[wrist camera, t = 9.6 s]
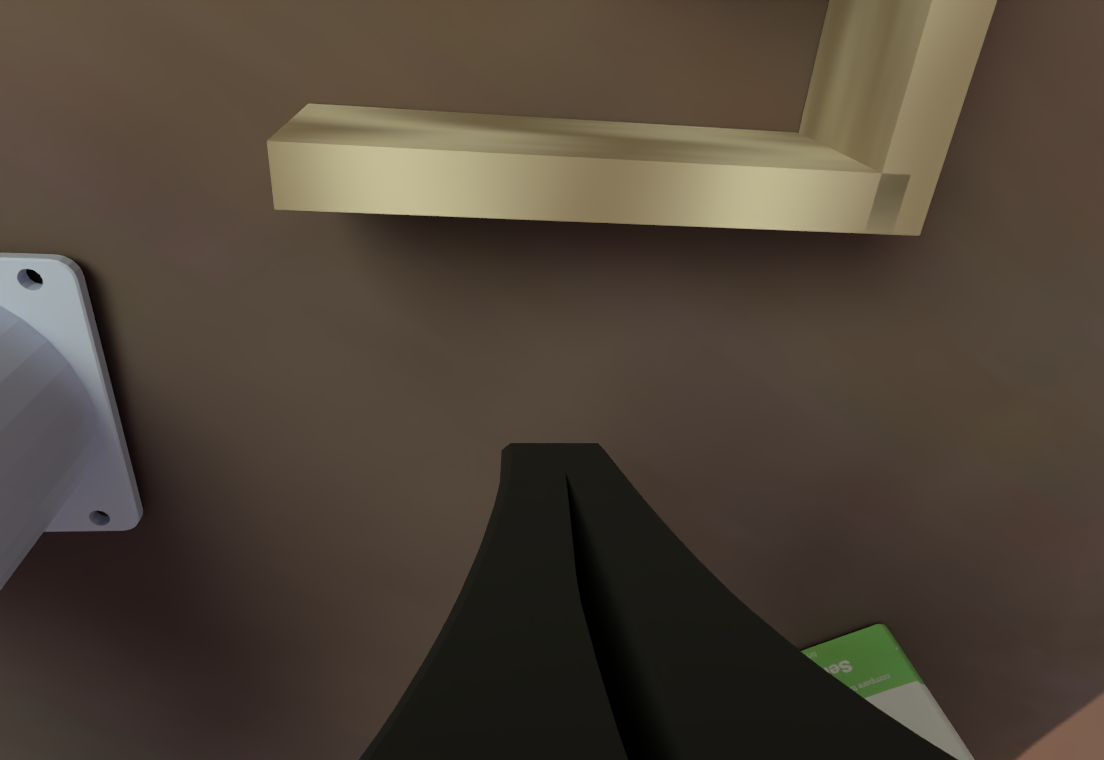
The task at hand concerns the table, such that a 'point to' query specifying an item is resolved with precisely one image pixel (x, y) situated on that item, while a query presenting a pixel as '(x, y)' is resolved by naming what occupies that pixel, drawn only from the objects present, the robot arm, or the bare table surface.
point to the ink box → (888, 683)
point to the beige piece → (672, 145)
